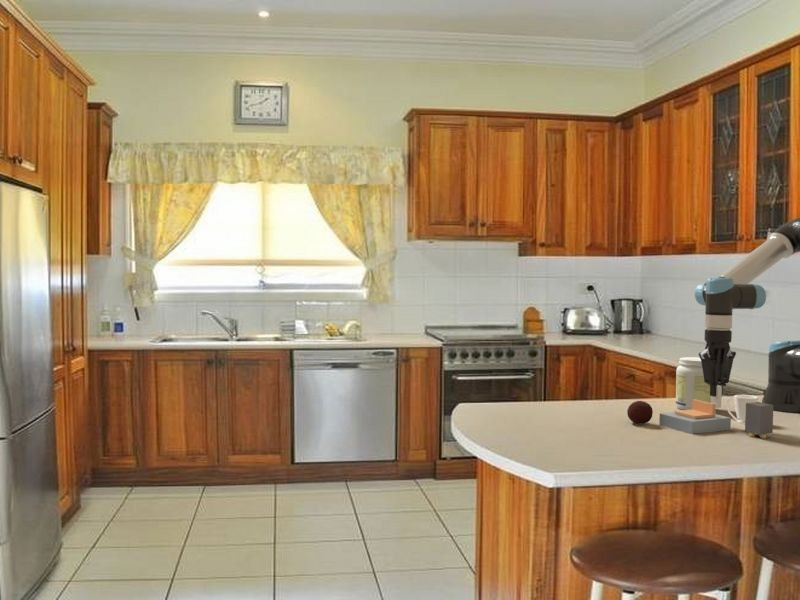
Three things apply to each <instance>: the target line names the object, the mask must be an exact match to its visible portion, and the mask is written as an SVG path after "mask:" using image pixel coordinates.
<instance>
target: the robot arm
mask: <svg viewBox="0 0 800 600" xmlns="http://www.w3.org/2000/svg"><path fill="white" fill-rule="evenodd" d="M797 253H800V216H799V217H796V218H794V219H792V220H789V221H788V222H786V223H784V224H783V225H781V226H780V227H778V228H777V229H775V230H774V231H773V232H771V233H770V234H769V235H767V238H766V241H764V242H763V243H762V244H760V245H759V246H758V247H756V248H755V249H754V250H752V251H751V252H750V253H749V254H747V255H745V256H744V257H743V258H742V259H741V260H739V261H738V262H736V263H735V264H734V265H732V266H731V267H730V268H728V269H727V270H725V271H724V272H723V273H722V274H720V275H719V276H718V277H709V278H708V279H707V280H706V282H702V283H700V284H698V285H697V286H696V287H695V290H694V299H695V300H696V302H697V304H699V305H701V306H705V316H704V317H705V318H704V327H705V328H706V329H705V330H704V341H705V343H706V344H705V347H704V350H703V351H702V352H698V358H700V359H701V363H702V369H703V376H704V382H705V383H707V384H708V385H710V396H711V403H714V404H716V408H722V397H723V395H724V394H723V392H724V391H723V390H724V386H725V387H726V386H727V384H729V382H730V377H731V371H732V367H733V362H734V359H735V357H736V355H737V352H736V351H734V350H733V351H732V349H731V347H730V346H731V345H730V343H731V342H732V338H733V336H732V334H733V332H732V328H733V312H734V311H733V310H754V309H760V308H762V307H763V306H764V304H765V303H766V300H767V292H766V290H765V288H764V287H763V286H761V285H759V284H753V281H755V280H756V279H757V278H758V277H760V276H761V275H762V274H764V273H765V272H766V271H768V270H769V269H770V268H772V267H773V266H774V265H776V263H778V262H780V261H781V260H782V259H788V258H790V257H791V256H792V255H794V254H797ZM768 349H769V350H768V367H767V368H768V371H767V372H768V381H767V386H766V389H765V392H764V394H763V397H762V400H761V403H766V404H771V405H773V411H778V412H786V413H787V412H788V413H800V340H780V341H779V340H778V341H777V340H776V341H772V342H771V343H770V345H769V347H768Z"/></svg>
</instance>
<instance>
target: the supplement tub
mask: <svg viewBox="0 0 800 600" xmlns="http://www.w3.org/2000/svg"><path fill="white" fill-rule="evenodd" d="M678 364H679V366H677V368H676V371H675V373H676V374H675V375H676V376H675V379H676V380H675V407H676V408H677V409H679V410H680V411H681V410H692V400H700V401H704V402H709V403H711V396H710V385H708V384H707V383H705V382H704V376H703V369H702V363H701V359H700V357H699V356H697V357H694V356H691V357H690V356H689V357H687V356H686V357H680V358H679V361H678Z"/></svg>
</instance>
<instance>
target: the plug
mask: <svg viewBox="0 0 800 600" xmlns="http://www.w3.org/2000/svg"><path fill="white" fill-rule="evenodd" d="M744 425H745V426H744V427H745V428H744V432H748V437H755V436H759V438H761V439H766V438H767V435H769V434H773V433H774V432H773V431H774V430H773V429H774V428H773V427H774V410H773V405H771V404H766V403H762V401H758V402H752V403H746V417H745V424H744Z"/></svg>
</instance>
